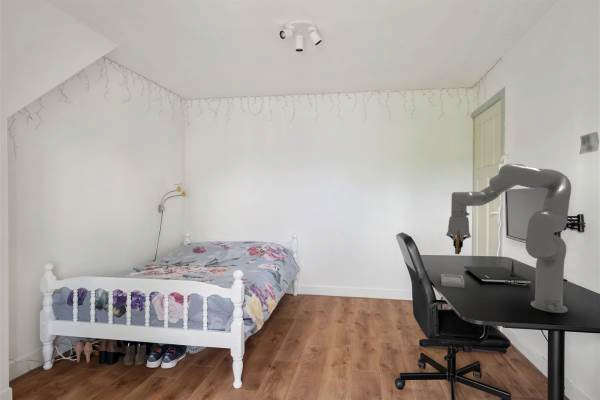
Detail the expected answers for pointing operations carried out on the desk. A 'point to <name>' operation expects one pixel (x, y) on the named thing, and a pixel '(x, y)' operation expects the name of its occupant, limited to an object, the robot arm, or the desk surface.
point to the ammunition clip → (457, 243)
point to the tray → (452, 280)
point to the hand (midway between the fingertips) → (458, 247)
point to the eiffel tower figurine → (513, 275)
